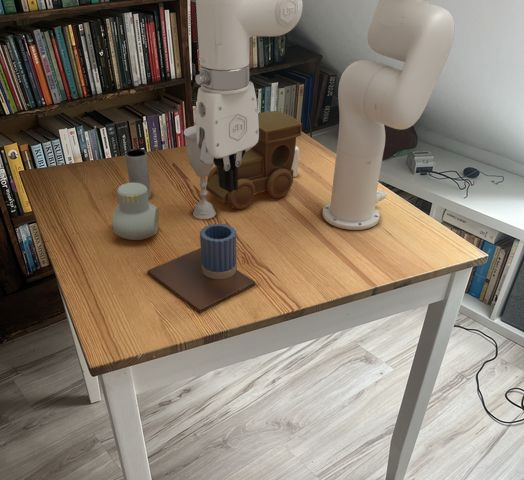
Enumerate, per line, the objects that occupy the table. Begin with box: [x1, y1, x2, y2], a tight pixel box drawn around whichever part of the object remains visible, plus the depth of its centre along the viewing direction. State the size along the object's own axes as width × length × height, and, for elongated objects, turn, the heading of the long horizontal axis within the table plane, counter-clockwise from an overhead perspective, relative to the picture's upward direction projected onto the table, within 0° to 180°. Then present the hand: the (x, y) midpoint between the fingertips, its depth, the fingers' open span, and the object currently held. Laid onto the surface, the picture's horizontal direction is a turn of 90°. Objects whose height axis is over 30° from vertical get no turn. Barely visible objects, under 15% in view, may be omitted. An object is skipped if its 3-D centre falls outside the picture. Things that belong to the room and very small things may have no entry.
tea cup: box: [199, 222, 238, 279], centre depth 104 cm, size 8×7×7 cm
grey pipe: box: [125, 148, 152, 199], centre depth 127 cm, size 4×4×10 cm
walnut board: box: [147, 247, 256, 314], centre depth 105 cm, size 13×16×1 cm
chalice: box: [183, 125, 217, 220], centre depth 119 cm, size 7×7×18 cm
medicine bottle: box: [291, 145, 300, 178], centre depth 138 cm, size 7×7×12 cm
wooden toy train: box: [205, 110, 303, 210], centre depth 127 cm, size 20×11×17 cm, turn 124°
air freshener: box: [112, 182, 160, 241], centre depth 114 cm, size 11×8×10 cm
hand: (228, 188), depth 98 cm, fingers closed
